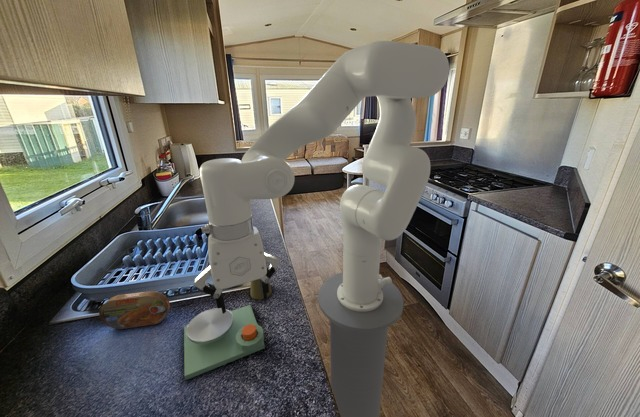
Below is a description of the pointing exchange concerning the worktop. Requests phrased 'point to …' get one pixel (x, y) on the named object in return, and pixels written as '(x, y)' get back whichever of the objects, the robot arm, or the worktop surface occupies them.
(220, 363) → the scale
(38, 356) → the worktop surface
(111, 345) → the worktop surface
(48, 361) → the worktop surface
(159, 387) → the worktop surface
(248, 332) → the tare button
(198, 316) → the pan
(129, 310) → the tin
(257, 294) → the olive game pawn
